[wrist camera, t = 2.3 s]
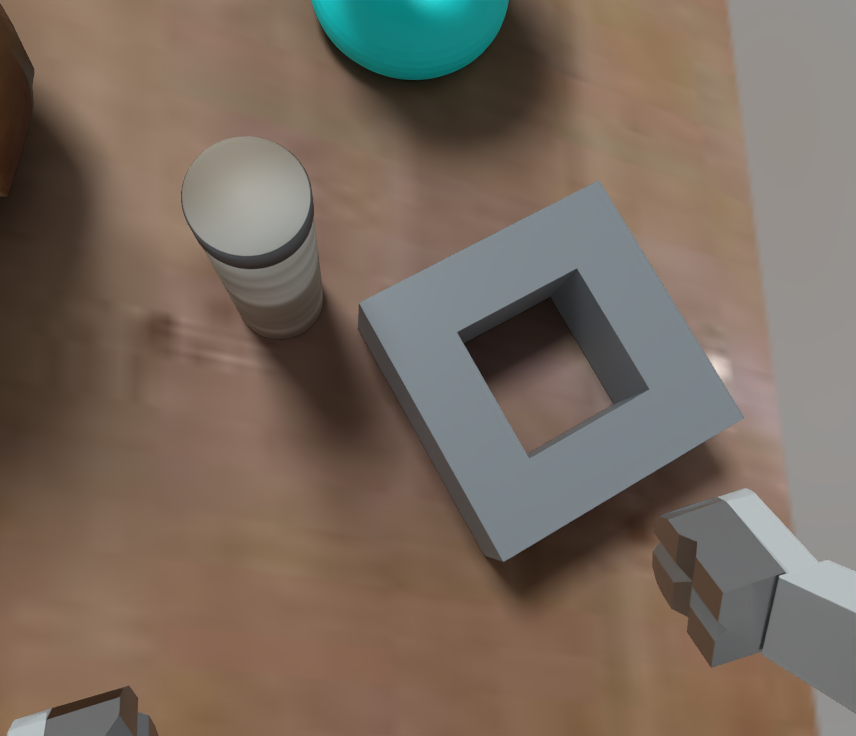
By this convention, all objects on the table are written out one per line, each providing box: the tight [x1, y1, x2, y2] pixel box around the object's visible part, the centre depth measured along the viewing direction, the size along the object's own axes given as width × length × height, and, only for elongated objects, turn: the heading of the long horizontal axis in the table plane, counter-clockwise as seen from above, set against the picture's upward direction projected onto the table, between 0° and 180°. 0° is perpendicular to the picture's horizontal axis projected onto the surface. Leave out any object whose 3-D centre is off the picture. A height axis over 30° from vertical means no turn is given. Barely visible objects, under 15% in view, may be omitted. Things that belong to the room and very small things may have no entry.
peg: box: [181, 137, 323, 339], centre depth 30 cm, size 4×4×12 cm
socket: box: [358, 181, 744, 562], centre depth 34 cm, size 12×12×4 cm
